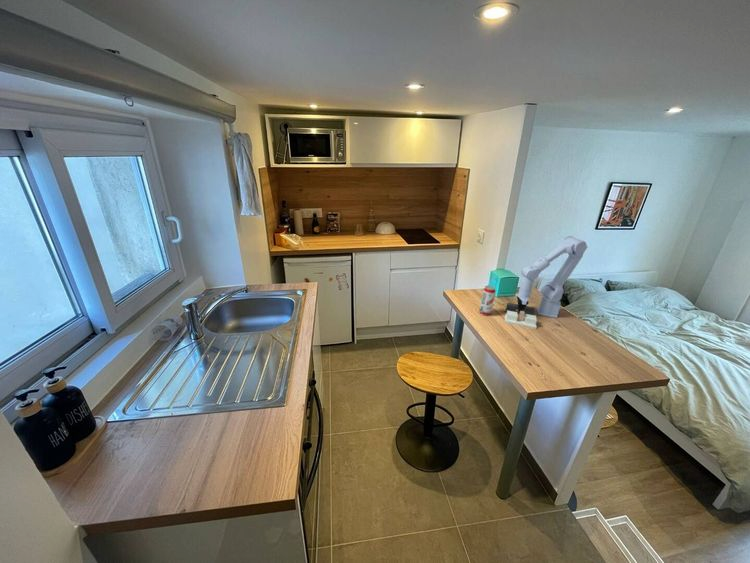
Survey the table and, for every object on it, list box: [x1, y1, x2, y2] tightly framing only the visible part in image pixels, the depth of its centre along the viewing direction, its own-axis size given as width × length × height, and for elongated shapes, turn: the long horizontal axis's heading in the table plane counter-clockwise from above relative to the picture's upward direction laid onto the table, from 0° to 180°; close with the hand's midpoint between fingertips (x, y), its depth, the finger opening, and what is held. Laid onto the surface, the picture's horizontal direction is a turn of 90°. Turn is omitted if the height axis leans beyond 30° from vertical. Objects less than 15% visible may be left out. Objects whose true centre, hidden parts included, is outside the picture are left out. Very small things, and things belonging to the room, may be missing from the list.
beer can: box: [479, 285, 496, 316], centre depth 159 cm, size 6×6×16 cm
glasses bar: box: [505, 302, 536, 317], centre depth 161 cm, size 14×2×5 cm, turn 69°
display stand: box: [504, 310, 537, 330], centre depth 153 cm, size 15×8×6 cm, turn 69°
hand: (519, 310), depth 161 cm, fingers closed on glasses bar, 2 cm apart
